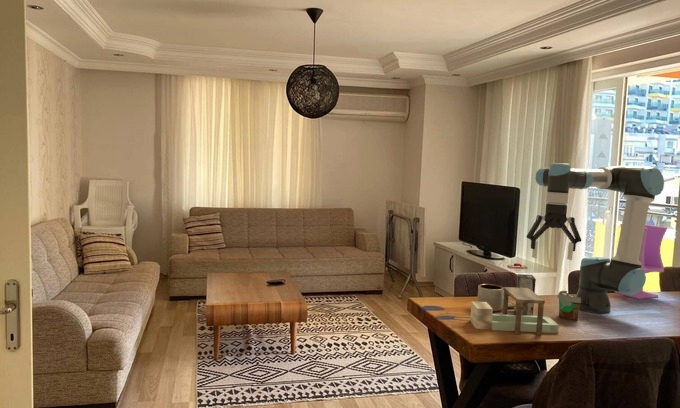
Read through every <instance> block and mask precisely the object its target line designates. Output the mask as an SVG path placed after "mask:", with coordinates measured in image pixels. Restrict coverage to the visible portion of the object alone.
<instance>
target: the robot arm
mask: <svg viewBox="0 0 680 408" xmlns="http://www.w3.org/2000/svg"><path fill="white" fill-rule="evenodd" d="M535 183H536V184H537V185H539V186H542V187H547V189H546V190H547V192H546V193H547V194H546V202H547V203H546V204H545V214H544V215H540V214H538V215H536V217H535V221H534V223H533V224H532V226H531V228H530V230H529V231H528V233H527V234H526V236H525V238H526V239H529V240H530V249H532V255H531V257H532V258H534V259H537V258H538V257H537V256H538V246H539V244H538V243H539V241H538V239H539V238H540V237H541V236H542V235H543V234H544V233H545V231H546V230H549V229H550V228H551V229H555V228H556V229H561V230H562V231H563V233H564V234H565V235H566V237H567V238H568V239H569V240H570V241H569V242H568V246H567V247H568V249H567V255H566V256H567V257H566V258H567V260H569V261H572V260H573V254H574V252H575V251H576V246H577V244H578V243H581V242H582V238H581V235H580V233H579V230H578V228H577V225H576V220H575V217H572V216H569V217H567V214H568V213H567V212H568V205H567V204H568V203H569V201H568V200H569V192H570V191H569V190H570V189H576V190H586V189H588V188H592V187H594V188H597V189H599V190H606V191H613V192H619V193H623V198H625V200H626V201H625V206H624V213H623V216H622V217H623V218H622V222H621V224H622V226H620V232H619V238H618V242H617V243H618V244H617V247H616V253H615V256H613V257H611V258H609V257H600V256H599V257H597V256H595V257H594V256H591V257H584V258H582V259H581V262H580V266H579V281H578V283H579V284H578V290H577V293H576V295H575V297H579V298H581V303H580V306H579V311H584V312H589V313H597V314H607V313H611V308H612V305H611V302H610V299H609V298H610V297H609V293H608V291H612V292H615V291H616V292H619V293H621V294H620V295H622V294H628V295H634V294H636V293H638V292H639V291H640V290H641V289H642V288H643V289H644V286H645V284H646V280H647V275H646V273H645V272H644V270H642V269H641V266H642V264H641V263H640V261H639V255H640V249H641V244H642V239H643V234H644V229H645V224H647V223H646V222H647V217H648V213H649V207H650V204H651V203H653V202H654V201H655V199H656V196H658V195H661V194H662V192H663V190H664V187H665V178H664V176H663V173H662V171H661V170H660V169H658V167H654V166H649V165H648V166H646V165H617V166H605V167H604V166H602V167H601V166H600V167H598V168H595V169H593V168H591V169H589V168H572V167H571V164H570V163H561V162H558V163H557V162H552V163H550V165H549V167H541V168H539V169H538V170H537V171H536V173H535ZM543 221H544V223H543V224H542V222H543ZM566 222H567V223H568V224H569V226H570V229H571V231H570V230H569V229H568V226H566V224H565V223H566ZM541 224H542V226H541V227H540V228H539V226H540V225H541ZM571 232H572V233H571ZM619 293H618V294H619Z"/></svg>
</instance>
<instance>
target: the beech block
mask: <svg viewBox="0 0 680 408" xmlns="http://www.w3.org/2000/svg"><path fill="white" fill-rule="evenodd" d="M470 303H471V304H470V316H469V317H470V319H469V320H470V322H471V324H472V325H473V327H474V328H475V329H478V330H492V315H493V314H494V313H493V312H494V311H493V309H492V308H491V306H490V305H489V304H488V303H487V302H477V301H471V302H470Z"/></svg>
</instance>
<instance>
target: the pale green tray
mask: <svg viewBox="0 0 680 408" xmlns="http://www.w3.org/2000/svg"><path fill="white" fill-rule="evenodd" d="M515 321H516V314H507V315H506V314H503V313H502V314H501V313H493V315H492V329H491V330H492V331H506V332H515ZM559 328H560V326H559V324H558V323H557V322H556V321H555V320H553V319H552V318H551V317H549V316H548V315H546V316H545V315H543V322H542V333H550V334H551V333H552V334H553V333H554V334H559ZM536 329H537V315H533V316H528V315H521V326H520V332H527V333H529V332H530V333H536Z"/></svg>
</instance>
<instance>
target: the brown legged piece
mask: <svg viewBox="0 0 680 408" xmlns="http://www.w3.org/2000/svg"><path fill="white" fill-rule="evenodd" d="M503 288H504V289H503V290H504V294H503V309H502V314H506V315H508V311H509V310H508V308H509V297H511V298H512V299H513V300H514V301H515V303H516V302H517V307H516V306H515V307H516V310H515V315H516V321H515V331H514V334H515V335H521V331H520V326H521V312H522V315H527V311H528V303H534V304H538V305H537V315H536V316H537V329H536V332H535V335H537V336H542V333H543V332H542V322H543V316H544V310H545V309H544V308H545V307H544V306H545V300H544V298H542V297H541V296H539V295H538V294H537V293H536V292H535V293H534V292H533V291H531V290H530V289H529V288H517V287H512V286H510V287H509V286H508V287H507V286H503ZM522 303H523V311H522Z"/></svg>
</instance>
